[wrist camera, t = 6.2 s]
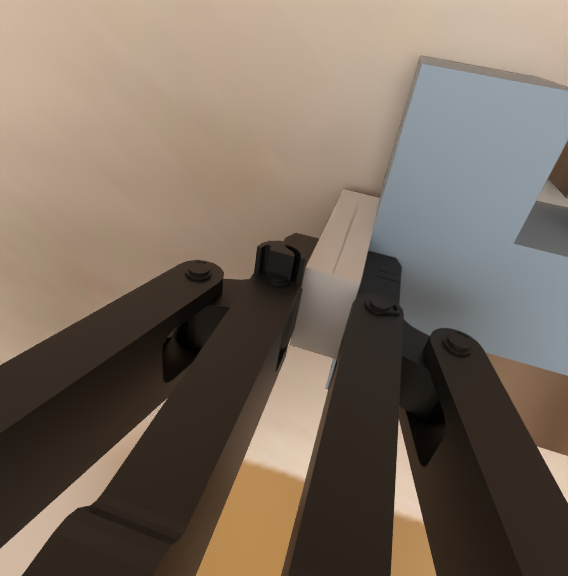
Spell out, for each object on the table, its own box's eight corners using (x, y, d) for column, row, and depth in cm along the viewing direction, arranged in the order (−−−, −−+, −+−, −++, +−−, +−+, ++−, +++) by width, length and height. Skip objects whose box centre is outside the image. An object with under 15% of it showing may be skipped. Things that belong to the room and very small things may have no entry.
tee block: (343, 319, 21) (325, 388, 17) (420, 55, 14) (422, 63, 10) (590, 390, 19) (636, 486, 15) (809, 127, 13) (1000, 172, 8)
